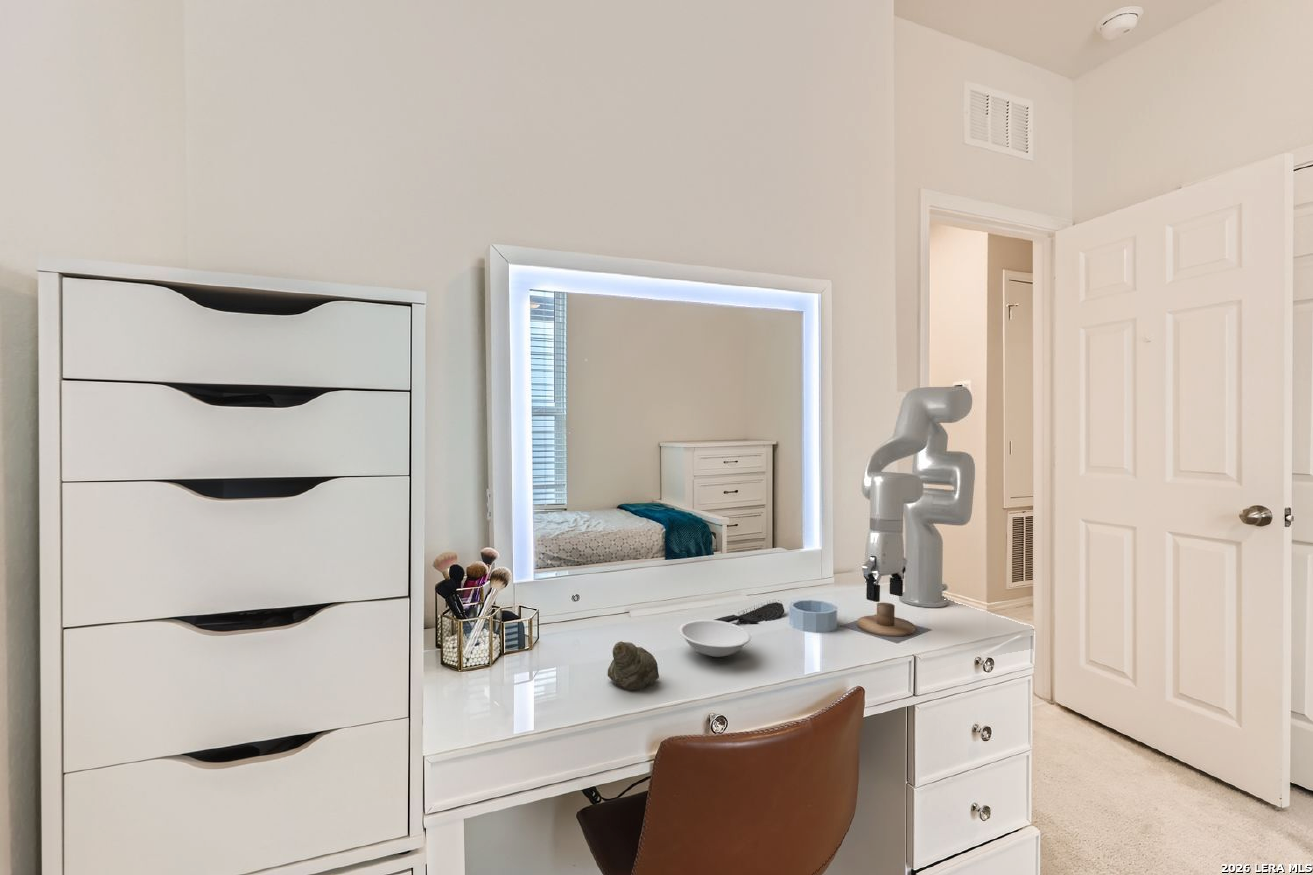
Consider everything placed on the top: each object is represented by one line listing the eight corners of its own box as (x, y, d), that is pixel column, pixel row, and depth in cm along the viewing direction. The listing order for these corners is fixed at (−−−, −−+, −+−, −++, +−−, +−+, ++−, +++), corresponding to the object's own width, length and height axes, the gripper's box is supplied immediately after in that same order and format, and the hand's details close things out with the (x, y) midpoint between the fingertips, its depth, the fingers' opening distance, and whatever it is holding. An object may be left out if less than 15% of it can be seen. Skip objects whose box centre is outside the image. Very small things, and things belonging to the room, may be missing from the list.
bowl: (809, 616, 159) (809, 597, 159) (846, 628, 150) (846, 607, 150) (780, 625, 152) (780, 605, 152) (817, 637, 143) (817, 616, 143)
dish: (765, 665, 127) (766, 640, 127) (703, 676, 121) (703, 650, 121) (723, 637, 143) (723, 616, 143) (666, 646, 138) (666, 624, 137)
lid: (876, 615, 158) (876, 594, 158) (925, 629, 148) (925, 606, 148) (846, 626, 150) (846, 603, 150) (895, 640, 140) (895, 616, 140)
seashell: (586, 647, 120) (602, 664, 111) (634, 608, 124) (653, 622, 115) (617, 691, 123) (635, 711, 113) (662, 651, 126) (683, 668, 117)
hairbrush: (693, 616, 152) (769, 595, 165) (693, 631, 152) (769, 609, 165) (714, 625, 145) (791, 603, 158) (714, 641, 145) (792, 617, 158)
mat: (875, 616, 160) (875, 614, 160) (931, 631, 148) (931, 629, 148) (840, 627, 150) (840, 625, 150) (897, 645, 139) (897, 643, 139)
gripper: (891, 522, 157) (890, 589, 157) (851, 526, 146) (849, 599, 146) (920, 525, 151) (918, 596, 151) (879, 530, 140) (878, 606, 140)
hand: (884, 597), depth 148 cm, fingers open, 9 cm apart
